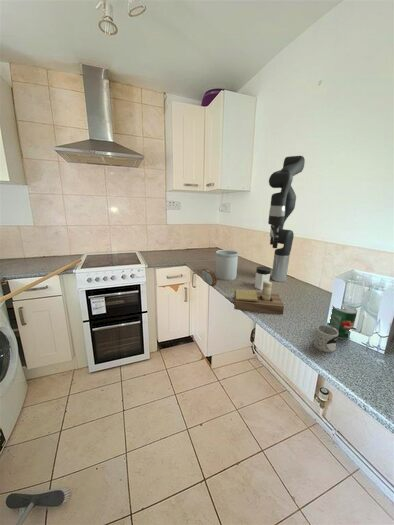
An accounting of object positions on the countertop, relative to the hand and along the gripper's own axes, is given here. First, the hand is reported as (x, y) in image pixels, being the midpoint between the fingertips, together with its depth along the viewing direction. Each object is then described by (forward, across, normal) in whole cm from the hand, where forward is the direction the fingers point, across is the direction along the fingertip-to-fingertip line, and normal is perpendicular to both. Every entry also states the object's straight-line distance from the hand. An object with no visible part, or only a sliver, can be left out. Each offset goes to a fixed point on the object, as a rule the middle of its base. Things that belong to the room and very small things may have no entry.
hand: (273, 246), depth 114 cm
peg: (+26, +17, -4) cm, 32 cm away
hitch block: (+26, +17, -8) cm, 32 cm away
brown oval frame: (+27, -7, -35) cm, 45 cm away
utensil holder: (+27, -21, -25) cm, 43 cm away
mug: (+26, +44, +14) cm, 53 cm away
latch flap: (+22, +17, -13) cm, 31 cm away
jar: (+27, -8, -3) cm, 29 cm away
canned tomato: (+27, +35, +22) cm, 49 cm away
